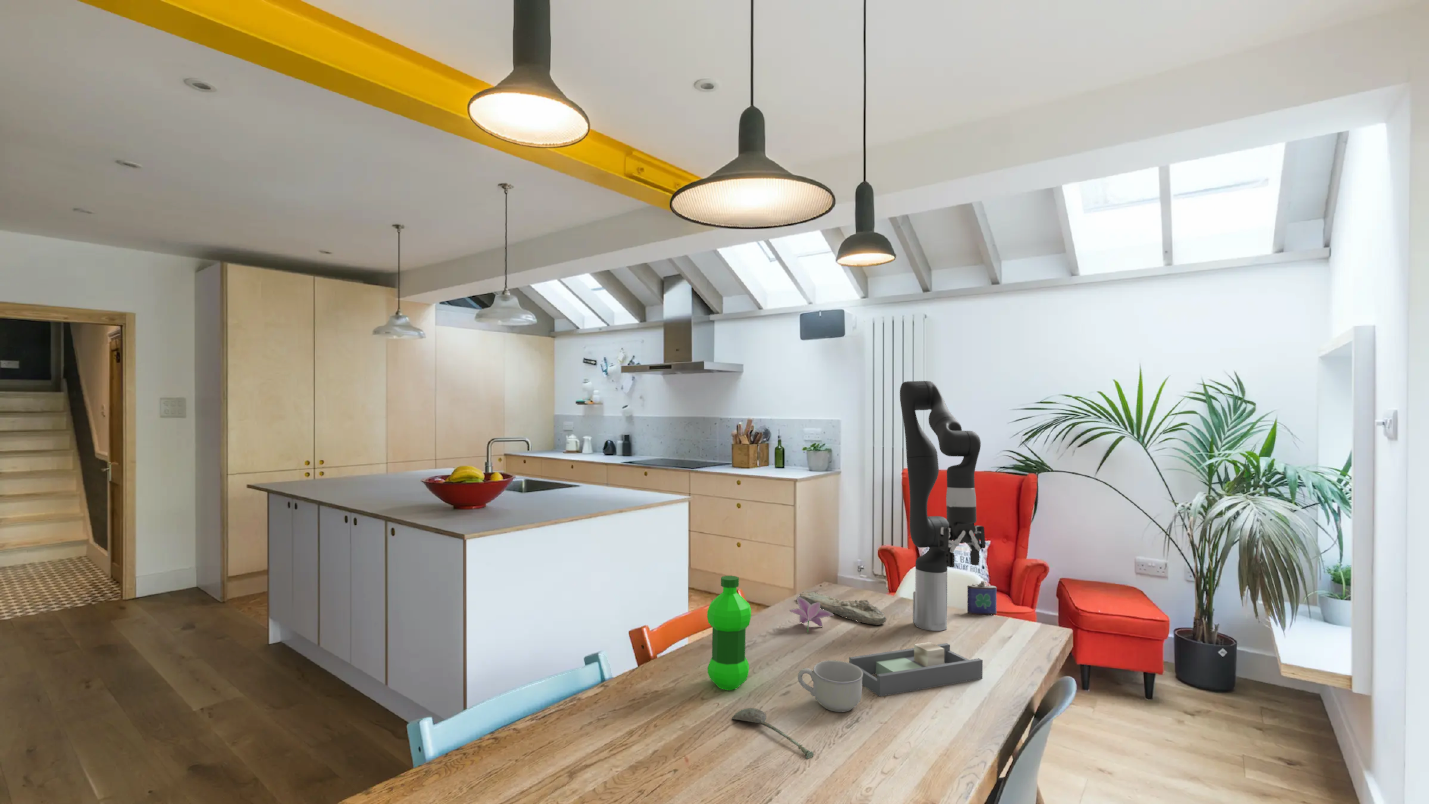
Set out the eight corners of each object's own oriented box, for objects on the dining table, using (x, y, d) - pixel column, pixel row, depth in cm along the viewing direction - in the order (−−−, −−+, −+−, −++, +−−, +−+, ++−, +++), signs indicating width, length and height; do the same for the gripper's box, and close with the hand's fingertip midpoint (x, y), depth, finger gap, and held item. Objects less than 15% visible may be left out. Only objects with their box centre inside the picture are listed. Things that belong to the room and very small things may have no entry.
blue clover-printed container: (994, 612, 214) (995, 579, 214) (998, 615, 211) (998, 582, 211) (966, 612, 215) (966, 579, 215) (969, 614, 212) (969, 581, 212)
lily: (838, 636, 191) (837, 603, 196) (813, 628, 185) (813, 594, 189) (805, 640, 199) (806, 607, 204) (780, 631, 192) (781, 598, 197)
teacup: (865, 700, 147) (865, 664, 147) (859, 721, 136) (859, 682, 137) (803, 690, 151) (804, 655, 151) (793, 710, 141) (794, 672, 141)
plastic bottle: (759, 685, 154) (760, 577, 154) (729, 698, 146) (731, 586, 146) (727, 673, 160) (729, 570, 161) (697, 685, 153) (698, 577, 153)
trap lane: (848, 675, 160) (849, 657, 160) (946, 660, 171) (946, 643, 171) (879, 696, 148) (880, 676, 149) (982, 678, 160) (982, 660, 160)
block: (914, 660, 163) (914, 644, 163) (930, 658, 165) (930, 641, 165) (927, 667, 158) (927, 651, 158) (944, 665, 160) (944, 648, 160)
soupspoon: (751, 714, 141) (726, 723, 137) (750, 698, 141) (725, 707, 137) (823, 754, 123) (796, 766, 119) (822, 736, 123) (796, 748, 119)
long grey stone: (812, 601, 229) (791, 607, 223) (811, 586, 230) (790, 592, 224) (894, 622, 202) (873, 629, 196) (893, 604, 202) (872, 611, 196)
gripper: (970, 503, 183) (971, 562, 181) (930, 504, 177) (931, 565, 176) (991, 505, 176) (993, 566, 175) (951, 506, 170) (952, 569, 169)
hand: (962, 565), depth 175 cm, fingers open, 8 cm apart
